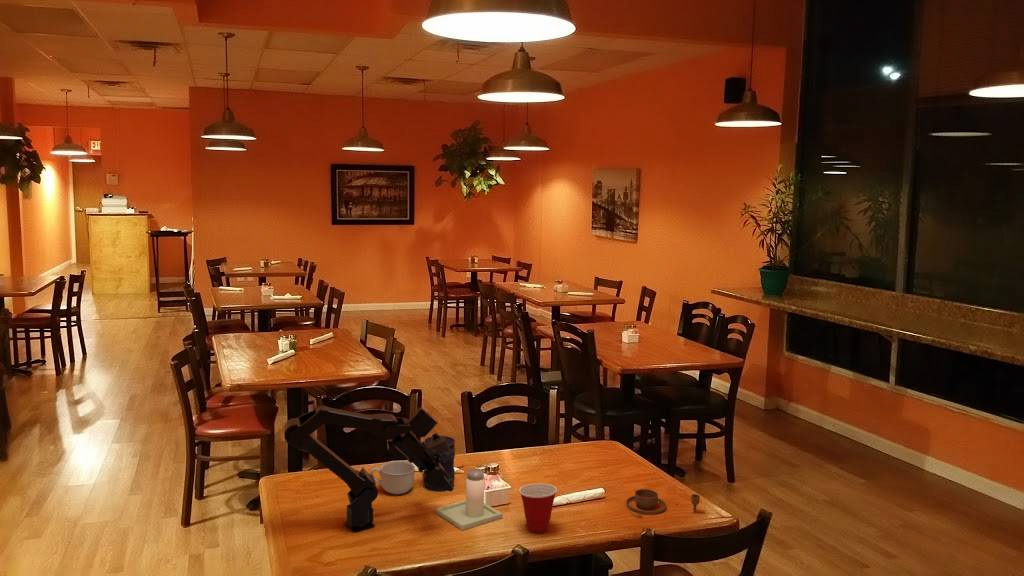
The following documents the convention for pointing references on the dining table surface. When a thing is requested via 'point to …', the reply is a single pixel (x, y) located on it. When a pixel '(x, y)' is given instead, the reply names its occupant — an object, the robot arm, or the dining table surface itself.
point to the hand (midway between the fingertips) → (450, 484)
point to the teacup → (396, 476)
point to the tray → (459, 518)
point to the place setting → (653, 501)
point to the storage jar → (445, 463)
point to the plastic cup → (538, 505)
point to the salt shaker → (475, 493)
